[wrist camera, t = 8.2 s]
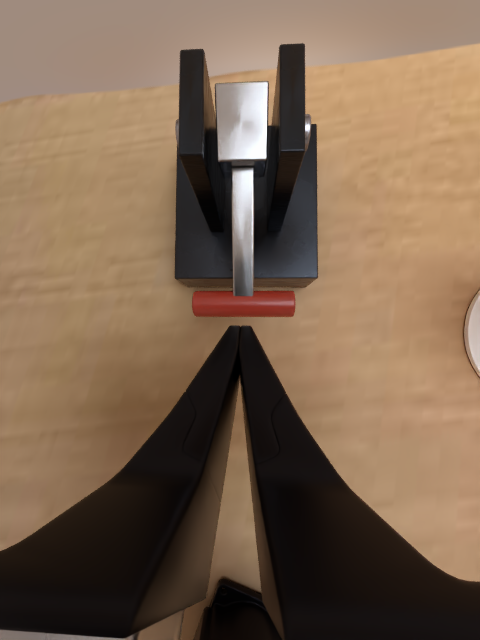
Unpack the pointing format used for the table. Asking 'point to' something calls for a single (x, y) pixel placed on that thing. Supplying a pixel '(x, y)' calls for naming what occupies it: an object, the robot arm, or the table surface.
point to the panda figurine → (473, 333)
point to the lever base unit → (269, 191)
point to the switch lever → (242, 201)
